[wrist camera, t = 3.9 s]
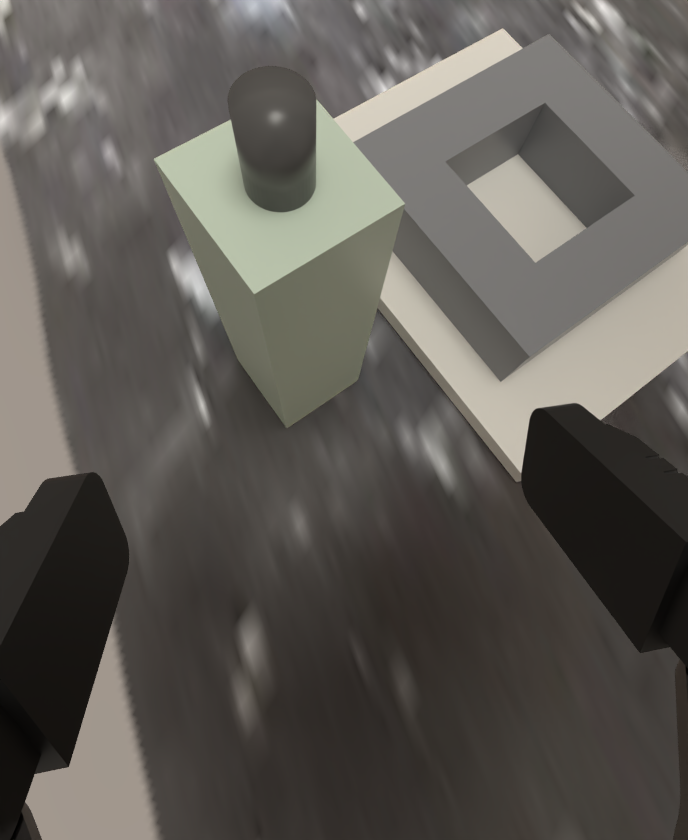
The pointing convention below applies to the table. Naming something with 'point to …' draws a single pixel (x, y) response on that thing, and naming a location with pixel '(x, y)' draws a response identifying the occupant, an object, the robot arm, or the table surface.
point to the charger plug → (286, 237)
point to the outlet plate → (527, 235)
